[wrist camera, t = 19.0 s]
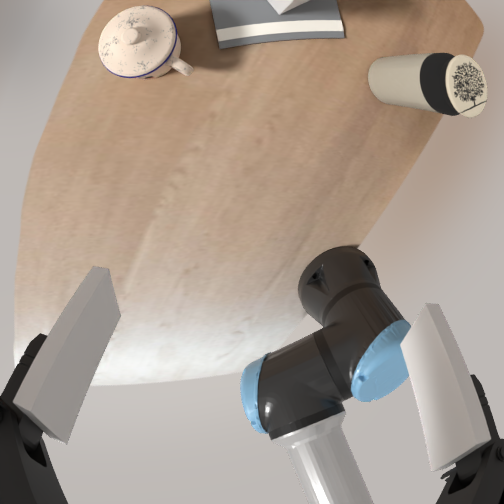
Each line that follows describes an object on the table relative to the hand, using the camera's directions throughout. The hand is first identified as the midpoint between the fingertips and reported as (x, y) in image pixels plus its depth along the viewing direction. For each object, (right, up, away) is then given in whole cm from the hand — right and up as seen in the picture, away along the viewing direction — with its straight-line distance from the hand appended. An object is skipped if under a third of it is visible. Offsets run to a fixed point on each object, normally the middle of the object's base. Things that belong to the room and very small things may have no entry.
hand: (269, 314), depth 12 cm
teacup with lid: (-13, +29, +21) cm, 38 cm away
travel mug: (+21, +29, +26) cm, 44 cm away
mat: (+2, +38, +18) cm, 43 cm away
